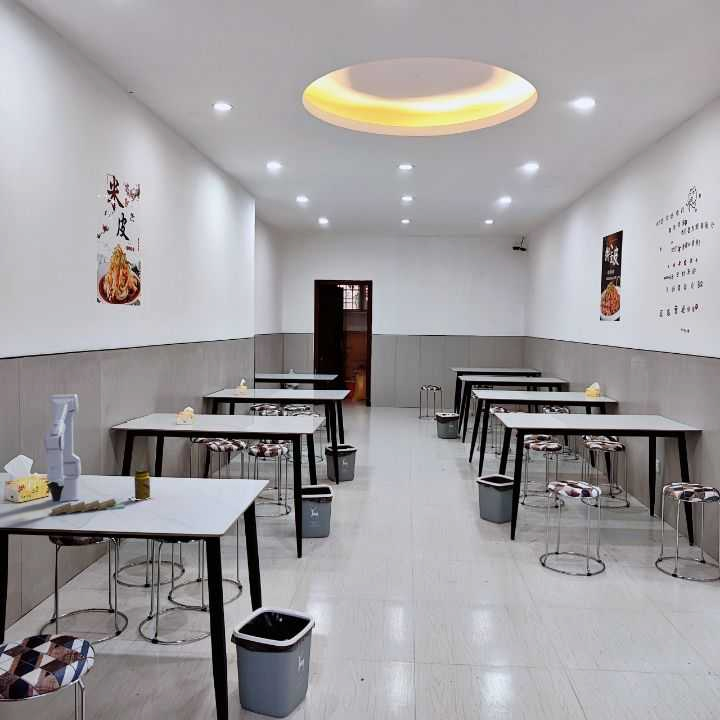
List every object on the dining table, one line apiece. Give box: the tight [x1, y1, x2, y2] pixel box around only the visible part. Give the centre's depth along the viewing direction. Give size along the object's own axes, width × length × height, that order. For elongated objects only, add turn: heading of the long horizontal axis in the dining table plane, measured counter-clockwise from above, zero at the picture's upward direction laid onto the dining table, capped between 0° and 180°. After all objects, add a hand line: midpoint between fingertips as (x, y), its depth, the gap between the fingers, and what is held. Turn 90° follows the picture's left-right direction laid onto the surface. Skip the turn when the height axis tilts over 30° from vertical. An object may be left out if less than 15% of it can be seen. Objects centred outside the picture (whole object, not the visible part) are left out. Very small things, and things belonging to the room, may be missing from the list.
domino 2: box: [65, 501, 86, 515], centre depth 277 cm, size 4×1×7 cm
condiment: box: [134, 468, 151, 499], centre depth 295 cm, size 7×8×12 cm
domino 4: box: [96, 498, 117, 511], centre depth 281 cm, size 4×1×7 cm
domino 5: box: [105, 503, 126, 510], centre depth 282 cm, size 4×1×7 cm
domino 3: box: [80, 499, 100, 513], centre depth 279 cm, size 4×1×7 cm
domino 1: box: [51, 502, 72, 516], centre depth 275 cm, size 4×1×7 cm
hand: (56, 501), depth 274 cm, fingers closed
